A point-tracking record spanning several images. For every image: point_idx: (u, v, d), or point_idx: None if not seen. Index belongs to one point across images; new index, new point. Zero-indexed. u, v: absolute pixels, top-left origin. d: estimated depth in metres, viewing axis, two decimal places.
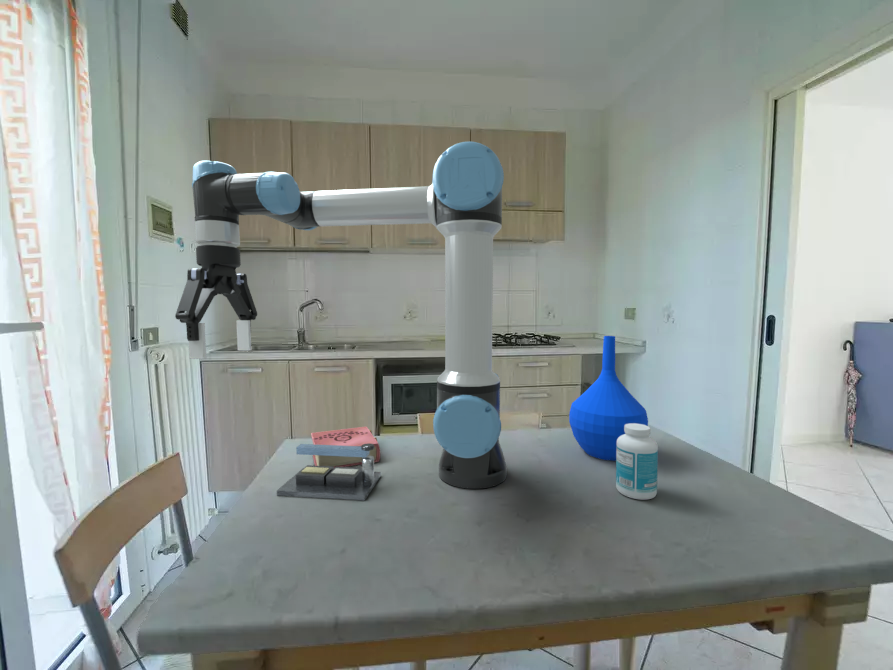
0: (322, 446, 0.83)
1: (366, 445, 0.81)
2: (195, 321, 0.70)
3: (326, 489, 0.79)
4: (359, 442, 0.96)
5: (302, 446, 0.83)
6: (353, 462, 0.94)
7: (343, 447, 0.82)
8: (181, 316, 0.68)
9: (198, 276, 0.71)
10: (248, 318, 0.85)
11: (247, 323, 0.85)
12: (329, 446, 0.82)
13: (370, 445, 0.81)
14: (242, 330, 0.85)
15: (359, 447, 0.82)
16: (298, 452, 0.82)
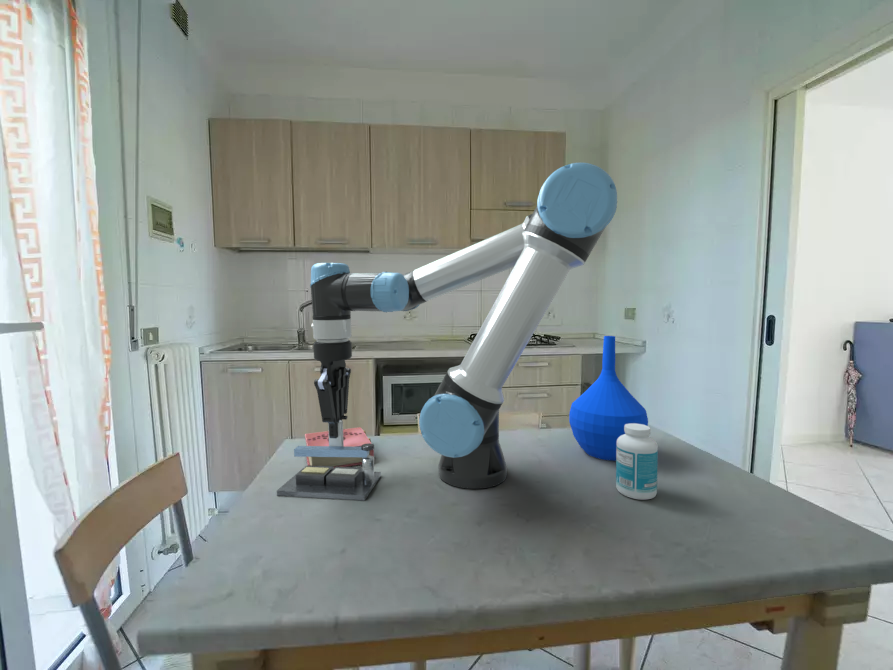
0: (321, 447, 0.82)
1: (366, 445, 0.81)
2: (337, 422, 0.81)
3: (326, 489, 0.79)
4: (352, 442, 0.95)
5: (299, 448, 0.82)
6: (346, 463, 0.93)
7: (342, 448, 0.81)
8: (328, 421, 0.79)
9: (326, 388, 0.76)
10: (340, 416, 0.83)
11: (340, 424, 0.82)
12: (328, 447, 0.82)
13: (370, 445, 0.82)
14: None
15: (359, 447, 0.82)
16: (296, 454, 0.81)
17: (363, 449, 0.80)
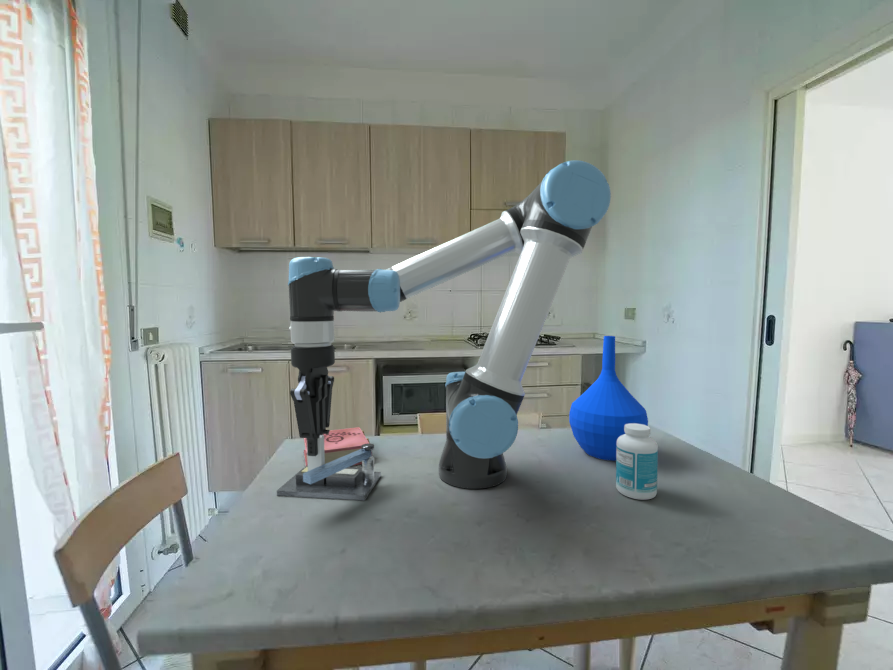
0: (329, 464, 0.73)
1: (366, 446, 0.81)
2: (317, 438, 0.72)
3: (326, 489, 0.79)
4: (350, 442, 0.95)
5: (312, 473, 0.69)
6: None
7: (349, 456, 0.77)
8: (306, 437, 0.70)
9: (304, 399, 0.67)
10: (321, 431, 0.74)
11: None
12: (336, 461, 0.74)
13: (368, 444, 0.82)
14: None
15: (359, 450, 0.80)
16: (312, 481, 0.69)
17: (369, 449, 0.80)
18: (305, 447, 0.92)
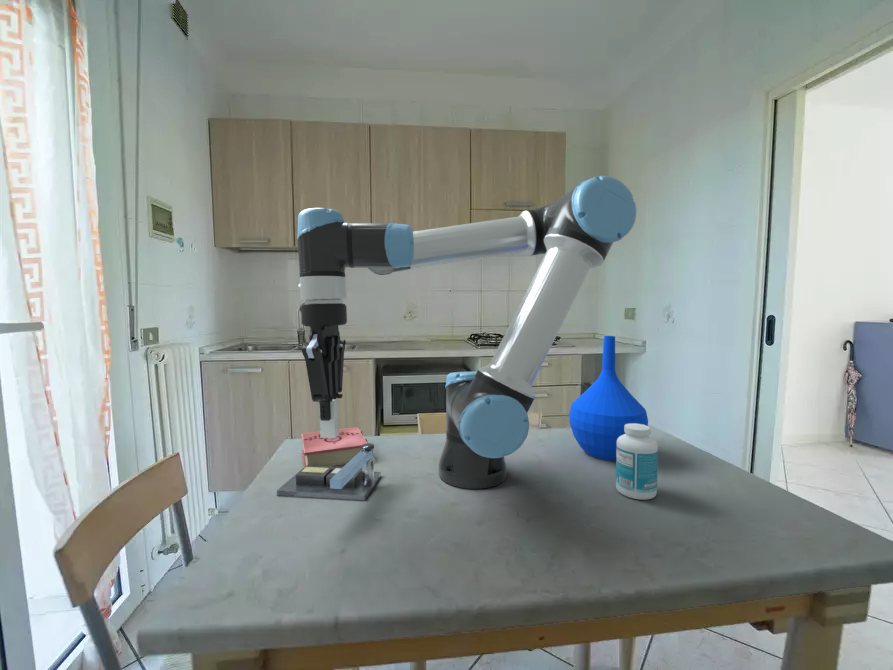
0: (347, 467, 0.72)
1: (367, 446, 0.81)
2: (330, 401, 0.68)
3: (326, 489, 0.79)
4: (348, 442, 0.95)
5: (339, 477, 0.67)
6: (342, 463, 0.93)
7: (358, 458, 0.76)
8: (318, 399, 0.66)
9: (317, 357, 0.63)
10: (334, 394, 0.70)
11: None
12: (350, 464, 0.73)
13: (367, 444, 0.82)
14: None
15: (362, 451, 0.79)
16: (342, 485, 0.67)
17: (371, 449, 0.80)
18: (303, 447, 0.92)
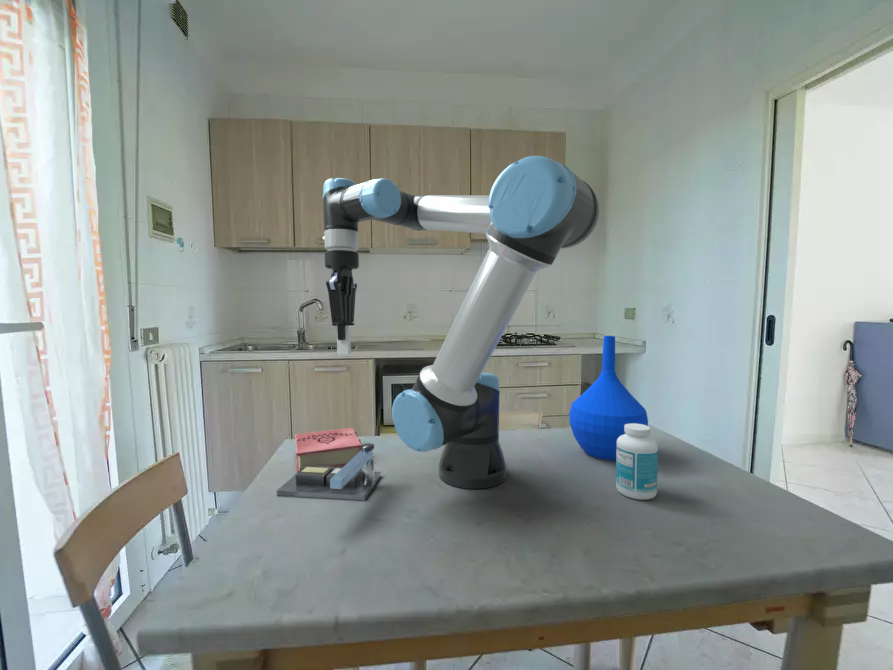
0: (347, 467, 0.72)
1: (367, 446, 0.81)
2: (345, 325, 0.90)
3: (326, 489, 0.79)
4: (342, 443, 0.95)
5: (339, 477, 0.67)
6: (335, 464, 0.92)
7: (358, 458, 0.76)
8: (337, 322, 0.88)
9: (337, 288, 0.85)
10: (348, 322, 0.92)
11: None
12: (350, 464, 0.73)
13: (367, 444, 0.82)
14: None
15: (362, 451, 0.79)
16: (342, 485, 0.67)
17: (371, 449, 0.80)
18: (296, 448, 0.92)
